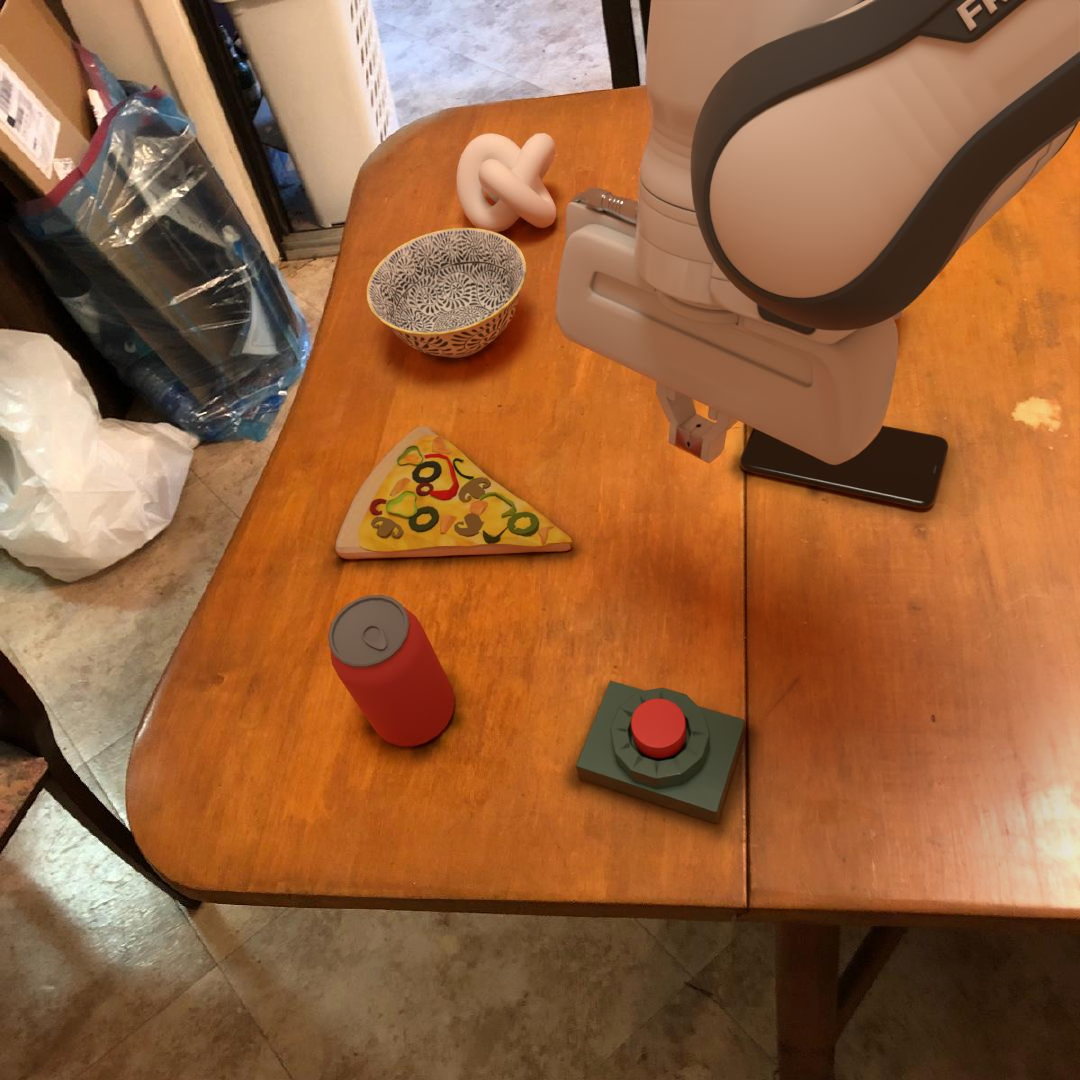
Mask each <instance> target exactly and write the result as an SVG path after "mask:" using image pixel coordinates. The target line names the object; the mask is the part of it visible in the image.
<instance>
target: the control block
mask: <svg viewBox="0 0 1080 1080" xmlns="http://www.w3.org/2000/svg"><path fill="white" fill-rule="evenodd" d="M651 699H665V700H668V701H671V702H673V703H674V704H676V705H677V706H678V707H679V708H680V709H681V711H682V712H683V714H684V717H685V723H686V740H685V743H684V745H683V746H682V748H681V749H680V750H679V751H678V752H677V753H676V754H674V755H672V756H670V757H667V758H652V757H649V756H647V755H645V754H644V753H642V752H641V751H640V750H639V749H638V748H637V746H636V744H635V742H634V739H633V733H632V728H631V719H632V716H633V713H634V712H635V710H636V709H637V708H638V707H639V706H640V705H641V704H642V703H644V702H646V701H648V700H651ZM587 734H588V735H587V737H586V739H585V741H584V744H583V747H582V749H581V752H580V754H579V757H578V760H577V761H576V764H575V768H576V772H577V774H578V778H579V779H581V780H584V781H587V782H589V783H591V784H595V785H599V786H600V787H604V788H607V789H610V790H613V791H616V792H620V793H622V794H626V795H628V796H631V797H635V798H638V799H640V800H643V801H646V802H649V803H653V804H655V805H658V806H662V807H664V808H667V809H671V810H672V811H673V810H674V811H676V812H679V813H682V814H685V815H688V816H691V817H694V818H697V819H700V820H703V821H706V822H709V823H713V824H716V825H717V824H718V822H719V819H720V817H721V816H720V815H721V812H722V810H723V805H724V804H725V803H724V802H725V800H726V796H727V793H728V790H729V786H730V783H731V779H732V776H733V774H734V770H735V767H736V764H737V760H738V757H739V754H740V750H741V747H742V744H743V741H744V738H745V734H746V719H744V718H741V717H737V716H734V715H731V714H726V713H725V712H720V711H716V710H713V709H710V708H706V707H703V706H699V705H698V704H697V703H696V702H695V701H694V700H693V699H692V698H691V697H690V696H688V695H687V693H683V692H679V691H675V690H672V689H670V688H665V687H657V688H652V689H646V690H645V689H641V688H637V687H635V686H631V685H627V684H624V683H620V682H617V681H614V680H609V682H608V685H607V687H606V690H605V692H604V695H603V697H602V700H601V702H600V705H599V707H598V709H597V712H596V714H595V717H594V719H593V722H592V724H591V727H590V729H589V731H588V733H587Z"/></svg>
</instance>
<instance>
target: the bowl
mask: <svg viewBox="0 0 1080 1080" xmlns="http://www.w3.org/2000/svg"><path fill="white" fill-rule="evenodd" d="M523 253H524V252H522V250H521V248H519V246H518V245H517V244H516V243H515V242H514V241H512V240H511V239H509V238H508V237H506V236H505V235H503V234H500V233H499V232H497V233H495V232H492V231H488V230H484V229H478V228H477V227H454V228H447V229H440V230H436V231H432V232H428V233H426V234H422V235H420V236H417V237H415V238H413V239H410V240H408V241H407V242H404V243H403V244H401V245H400V246H398V247H396V248H395V249H394V250H392V251H391V252H389V253H388V254H387V255H386V256H385V257H384V258H383V259H382V260H380V262H379V263H378V264H377V266H376V267H375V268H374V270H373V271H372V273H371V275H370V276H369V279H368V282H367V286H366V300H367V305H368V307H369V309H370V311H371V313H372V314H373V315H374V316H375V317H376V318H377V319H378V320H379V321H380V322H381V323H383V324H384V325H386V326H387V327H388V328H389V329H390V330H391V331H392V332H393V334H395V335H396V336H397V338H399V339H400V340H401V341H402V342H403V343H405V344H406V345H408V346H409V347H410V348H412V349H415V350H416V351H419V352H421V353H424V354H427V355H431V356H437V357H444V358H453V359H457V358H463V357H464V358H465V357H468V356H471V355H474V354H476V353H478V352H480V351H481V350H483V349H484V348H485V347H486V346H488V345H489V344H490V343H492V342H493V341H494V340H496V339H497V338H498V337H500V335H501V334H502V333H503V332H504V331H505V329H506V328H507V327H508V325H509V324H510V323H511V321H512V319H513V317H514V315H515V312H516V310H517V307H518V303H519V300H520V295H521V291H522V289H523V286H524V284H525V281H526V278H527V262H526V258H525V255H524V254H523Z"/></svg>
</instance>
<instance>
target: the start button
mask: <svg viewBox="0 0 1080 1080" xmlns="http://www.w3.org/2000/svg"><path fill="white" fill-rule="evenodd" d="M631 728H632V733H633V739H634V742H635V744H636V746H637V748H638V749H639V750H640V751H641V752H642V753H644V754H645V755H647V756H649V757H652V758H667V757H670V756H672V755H674V754H676V753H677V752H678V751H679V750H680V749H681V748H682V746H683V745H684V743H685V740H686V723H685V717H684V714H683V712H682V711H681V709H680V708H679V707H678V706H677V705H676V704H674V703H673V702H671V701H668V700H665V699H651V700H648V701H646V702H644V703H642V704H641V705H640V706H639V707H638V708H637V709H636V710H635V712H634V713H633V716H632V719H631Z"/></svg>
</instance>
